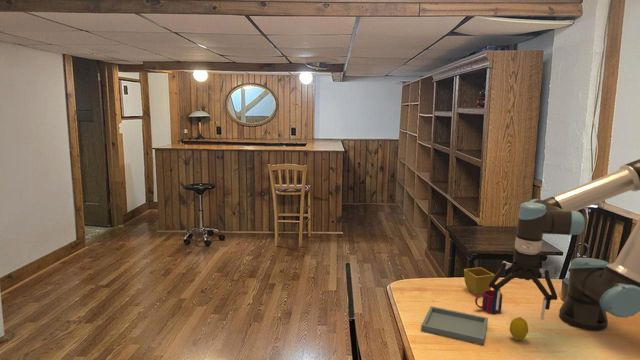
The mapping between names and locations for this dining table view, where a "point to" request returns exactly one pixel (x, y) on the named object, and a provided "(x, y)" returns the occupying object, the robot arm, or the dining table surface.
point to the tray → (455, 325)
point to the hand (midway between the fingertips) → (519, 313)
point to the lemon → (519, 328)
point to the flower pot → (477, 280)
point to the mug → (489, 302)
